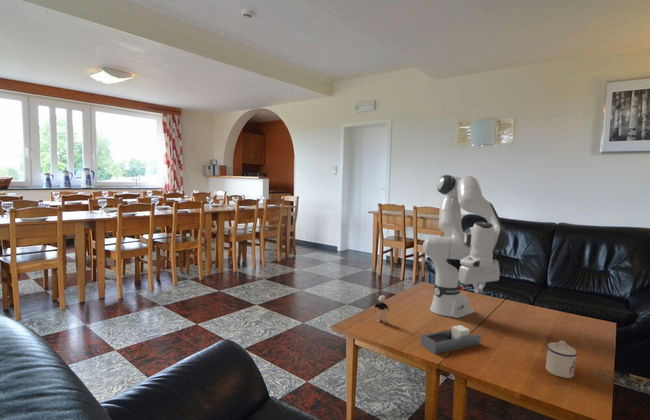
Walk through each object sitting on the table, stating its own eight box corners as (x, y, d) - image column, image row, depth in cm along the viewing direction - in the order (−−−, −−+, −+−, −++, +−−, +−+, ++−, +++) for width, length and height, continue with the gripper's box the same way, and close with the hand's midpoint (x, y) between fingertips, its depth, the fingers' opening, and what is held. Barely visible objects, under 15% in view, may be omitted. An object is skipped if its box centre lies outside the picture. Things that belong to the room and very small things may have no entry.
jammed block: (459, 336, 156) (460, 325, 155) (468, 341, 151) (469, 329, 151) (450, 337, 154) (451, 326, 153) (459, 343, 149) (460, 331, 149)
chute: (464, 335, 159) (464, 326, 159) (480, 344, 151) (480, 335, 151) (420, 344, 150) (421, 335, 149) (434, 354, 142) (435, 344, 141)
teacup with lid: (575, 381, 126) (579, 349, 124) (545, 373, 130) (548, 343, 129) (572, 366, 136) (575, 337, 135) (544, 359, 140) (547, 331, 139)
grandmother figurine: (388, 320, 173) (389, 294, 172) (389, 323, 169) (390, 297, 168) (372, 319, 174) (373, 293, 173) (372, 322, 170) (374, 296, 169)
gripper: (492, 257, 160) (489, 287, 161) (457, 260, 151) (454, 292, 153) (504, 260, 154) (501, 292, 155) (468, 263, 146) (466, 297, 147)
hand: (478, 292), depth 154 cm, fingers closed
